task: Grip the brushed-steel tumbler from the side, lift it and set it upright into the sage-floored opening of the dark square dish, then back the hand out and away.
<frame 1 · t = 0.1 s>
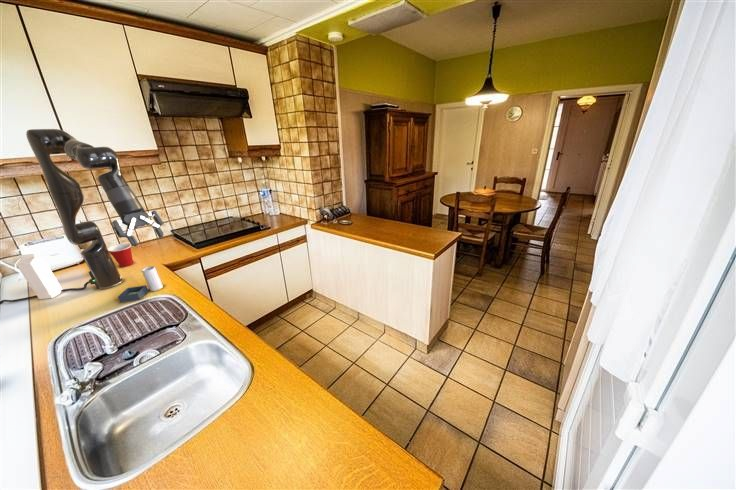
hand: (149, 241, 100), 31 cm above the worktop, tool tilted 20°, fingers open, 8 cm apart
milk: (51, 295, 130), on the worktop
tumbler: (156, 288, 130), on the worktop
dark square dish: (134, 296, 124), on the worktop
plastic cup: (127, 265, 158), on the worktop
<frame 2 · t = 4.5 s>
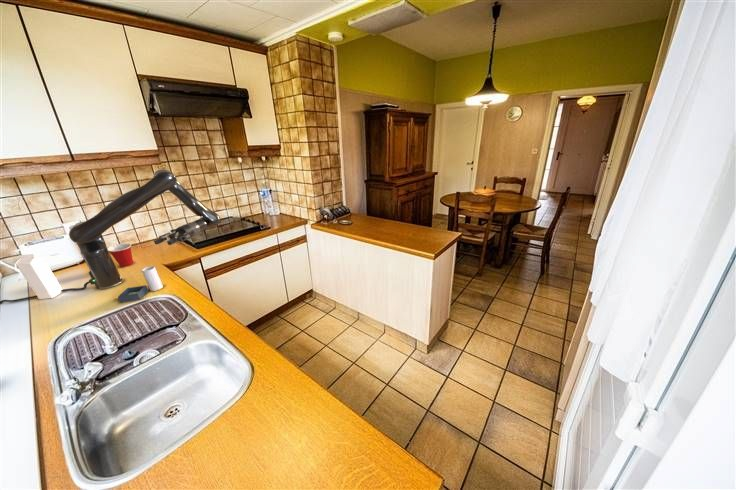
hand: (161, 243, 132), 20 cm above the worktop, tool horizontal, fingers open, 8 cm apart
nothing on the worktop moved.
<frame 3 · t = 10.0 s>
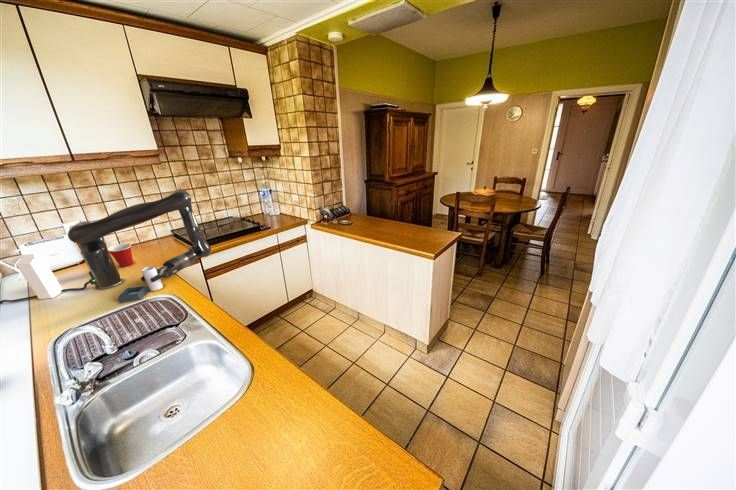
hand: (147, 280, 125), 6 cm above the worktop, tool horizontal, fingers closed on tumbler, 5 cm apart
tumbler: (156, 288, 130), on the worktop, touching gripper
everything else where it was.
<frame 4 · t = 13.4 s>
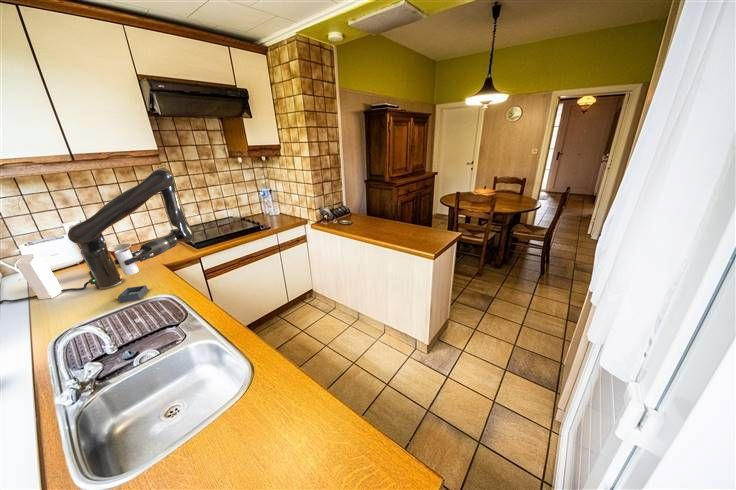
hand: (120, 263, 117), 18 cm above the worktop, tool horizontal, fingers closed on tumbler, 5 cm apart
tumbler: (132, 272, 121), point 12 cm above the worktop, touching gripper
everything else where it was.
when the fingers open (7 cm above the worktop, at t = 17.1 s): tumbler stays where it is, resting on dark square dish.
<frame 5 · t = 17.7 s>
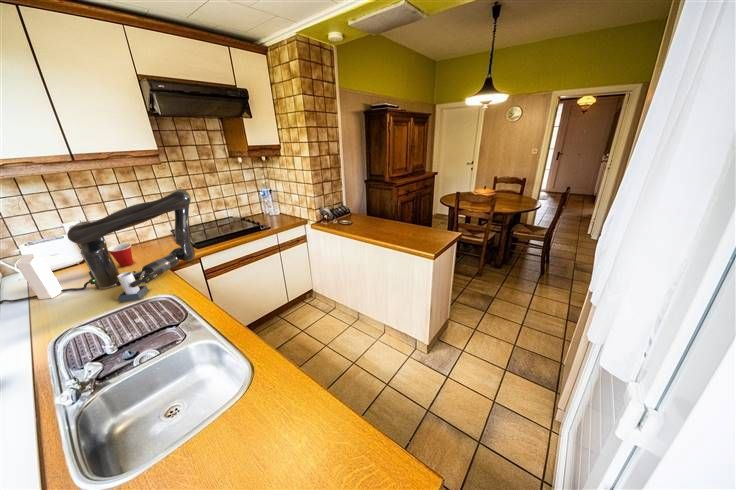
hand: (124, 285, 120), 7 cm above the worktop, tool horizontal, fingers open, 8 cm apart
tumbler: (134, 294, 124), point 1 cm above the worktop, touching dark square dish
everything else where it was.
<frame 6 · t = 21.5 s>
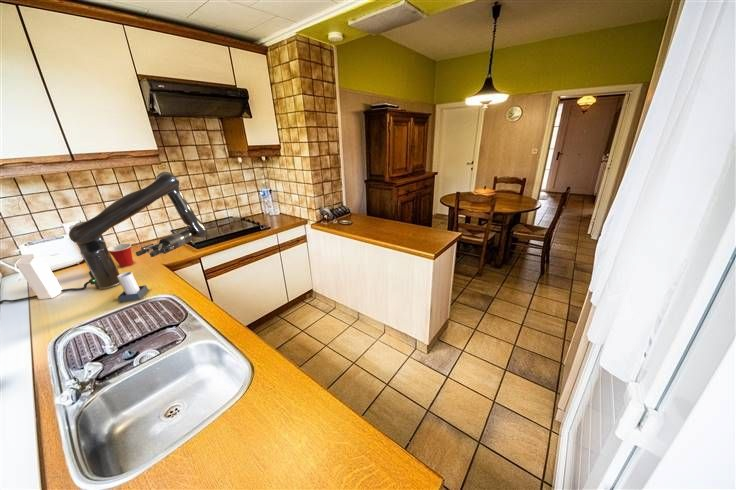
hand: (143, 254, 128), 16 cm above the worktop, tool horizontal, fingers open, 8 cm apart
nothing on the worktop moved.
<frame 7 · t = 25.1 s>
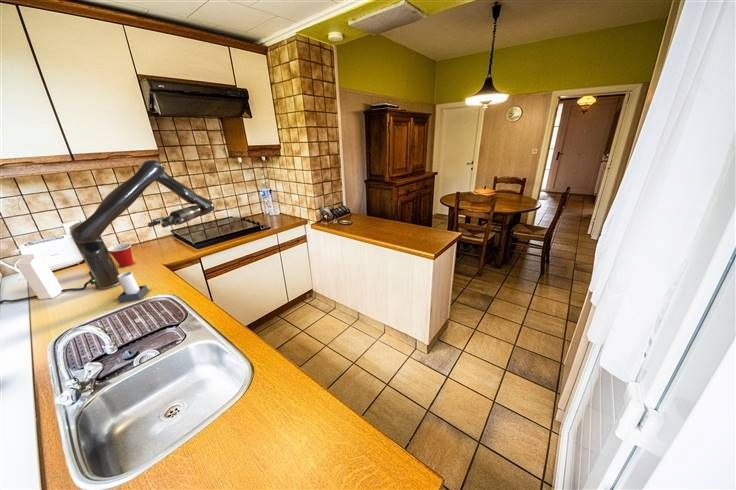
hand: (155, 225, 132), 28 cm above the worktop, tool horizontal, fingers open, 8 cm apart
nothing on the worktop moved.
at the end: tumbler 0.1 cm off-centre in the dark square dish, point 0.8 cm above the dark square dish's base; tumbler tilted 0°; the gripper is holding nothing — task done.
